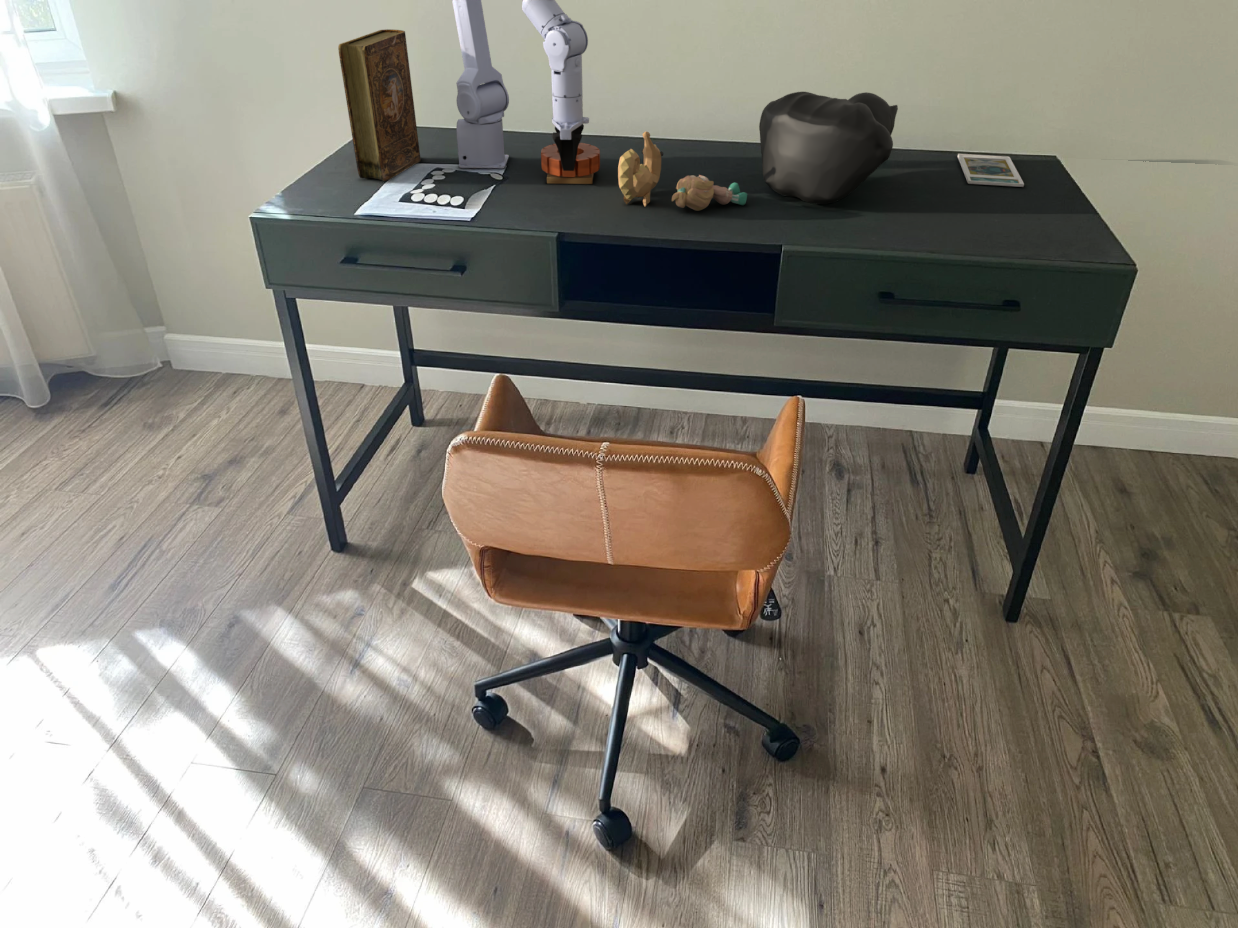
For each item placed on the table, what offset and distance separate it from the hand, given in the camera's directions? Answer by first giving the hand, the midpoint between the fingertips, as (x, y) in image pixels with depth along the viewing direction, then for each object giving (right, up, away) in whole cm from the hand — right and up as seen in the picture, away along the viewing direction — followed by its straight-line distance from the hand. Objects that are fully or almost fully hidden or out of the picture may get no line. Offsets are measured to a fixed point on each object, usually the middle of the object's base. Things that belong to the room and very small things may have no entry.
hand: (569, 167), depth 178 cm
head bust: (+52, -4, +1) cm, 52 cm away
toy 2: (+27, -11, -9) cm, 30 cm away
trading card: (+86, +2, +9) cm, 87 cm away
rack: (0, 0, +5) cm, 5 cm away
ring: (0, +1, +4) cm, 4 cm away
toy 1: (+14, -9, -6) cm, 17 cm away
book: (-37, +2, +8) cm, 38 cm away
